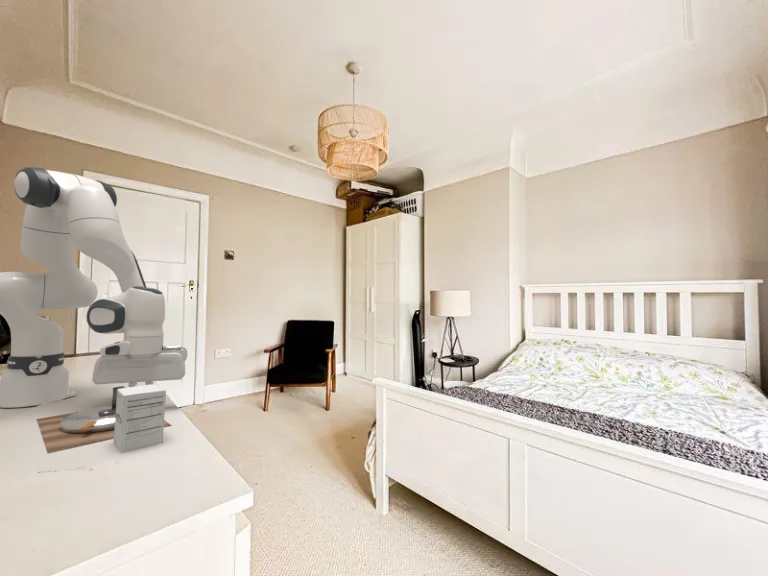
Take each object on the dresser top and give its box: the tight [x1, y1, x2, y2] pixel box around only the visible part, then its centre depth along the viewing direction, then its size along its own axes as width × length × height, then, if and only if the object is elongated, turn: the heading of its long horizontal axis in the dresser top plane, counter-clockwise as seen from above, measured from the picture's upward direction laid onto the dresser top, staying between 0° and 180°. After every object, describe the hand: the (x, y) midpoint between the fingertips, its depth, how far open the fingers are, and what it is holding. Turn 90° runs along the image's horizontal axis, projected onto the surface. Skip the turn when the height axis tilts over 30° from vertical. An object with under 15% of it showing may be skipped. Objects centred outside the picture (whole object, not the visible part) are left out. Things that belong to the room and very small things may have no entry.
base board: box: [36, 411, 173, 454], centre depth 81 cm, size 28×21×2 cm
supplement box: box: [113, 383, 167, 454], centre depth 70 cm, size 7×7×13 cm
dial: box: [60, 385, 126, 433], centre depth 80 cm, size 18×16×6 cm
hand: (140, 398), depth 89 cm, fingers closed
